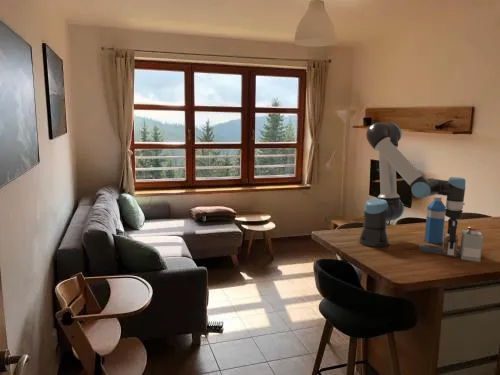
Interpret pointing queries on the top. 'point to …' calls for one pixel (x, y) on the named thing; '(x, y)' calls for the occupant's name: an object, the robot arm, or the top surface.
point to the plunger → (472, 230)
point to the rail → (433, 249)
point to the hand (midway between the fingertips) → (449, 250)
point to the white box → (471, 246)
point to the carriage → (445, 245)
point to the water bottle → (435, 221)
